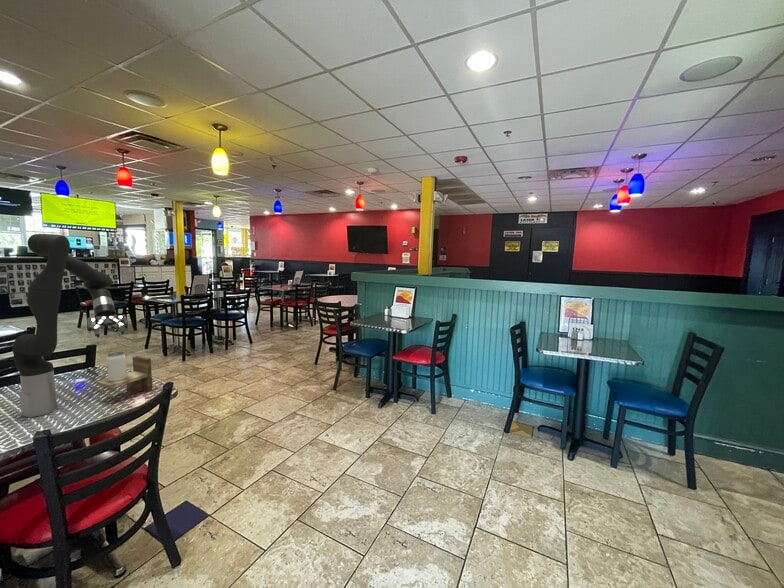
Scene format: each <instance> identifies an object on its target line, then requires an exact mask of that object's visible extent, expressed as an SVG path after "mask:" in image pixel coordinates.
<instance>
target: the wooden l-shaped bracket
mask: <svg viewBox="0 0 784 588" xmlns="http://www.w3.org/2000/svg"><path fill="white" fill-rule="evenodd" d="M152 377H153V373H152V360H151V358H149V357H143V356H138V355H136V356H132V371H129V372H127V377H126V378H125V379H124V380H120V381H114V382H111V381H109V380H108V378H105V379H101V380H98V381H96V386H99V387H102V388H107V389H114V388H117V387H121V386H122V385H123V386H124V385H125V387H126V395H128V396H130V395H132V393H133V394H135V393H138V392H141V391H144V392H148V391H149V392H151V391H153V390H154V389H153V378H152ZM140 390H141V391H140ZM150 390H151V391H150Z"/></svg>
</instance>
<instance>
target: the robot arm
mask: <svg viewBox="0 0 784 588" xmlns="http://www.w3.org/2000/svg"><path fill="white" fill-rule="evenodd" d="M27 247H28V249H29V250H30V251H31V252H33V253H34V254H35V255H37V256H39V257H41V258H44V259H45V260H47V262H46V264H45V267H44V268H43V269H42V270H41V271H40V272H39V273H38V274H37V276H35V278H33V280H32V281H31V282H30V284H29V287H28V291H27V296H26V301H27V306H28V307H29V310H30V311H31V313H32V314H33V317H34V318H35V321H36V329H35V333H25V334H21V335H20V336H18V337H16V339H14V341H13V345H12V354H13V360H14V365H15V368H16V370H17V371H18V372H19V378H20V387H21V389H20V390H21V392H19V395H18V396H19V401H20V402H19V403H20V412H21V416H23V417H25V418H29V419H31V418H34V417H35V418H36V417H41V416H44V415H47V414H50V413H53V412H55V411H56V410H57V409H58V402H57V393H56V381H55V371H54V364H53V363H52V362H50V361H48V360H46V359H45V357H49V356H51V355H53V354H54V352H55V350H56V349H57V347H58V346H57V344H58V319H59V317H58V316H59V307H60V302H61V295H62V287H63V286H62V285H63V278H64V274H65V271H66V270H67V271H68V272H69V273H70V274H73V275H74V276H75V277H77V278H78V279H79V280H81V281H82V282H83V286H84V288H85V289H86V290H87V291H88V292H89V294H90V296H91V300H92V306H93V308H92V309H93V311H94V315H95V316H94V317H95V318H94V317H93V318H91V317H88V318H87V321H86V323H87V331H89V332H91V331H93V333H94V336H95V337H96V338H100V336H101V334H100V331H99V329H101V328H102V327H107V326H115V327H117V328H119V331H120V334H121V335H124V333H126V330H125V328H127V327H129V321H128V319H127V316H126V314H122V315H117V311H116V308H115V304H114V301H113V299H112V294H111V292H110V290H108V289H106V288H109V287H110V286H112V285H113V280H112V278H111V276H109V275H108V274H106V273H104V272H102V271H99V270H96V269H94V268H93V267H91V266H90V265H89V264H88V263H87V262H85V261H83V260H82V259H79V258H76V257H74V256H72V255H70V249H71V244H70V241H69V239H68V237H66V236H65V235H62V234H54V233H35V234H32V235H31V236H29V237H28V239H27ZM121 321H122V322H121ZM94 322H96V324H95V326H93V324H94ZM42 357H43V358H42Z"/></svg>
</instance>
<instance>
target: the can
mask: <svg viewBox="0 0 784 588" xmlns="http://www.w3.org/2000/svg"><path fill="white" fill-rule="evenodd" d="M106 365H107V366H106V368H107V379H108V380H109V381H111V382H114V381H120V380H124V379H125V378H126V377H127V373H128V372H127V359H126V355H125V352H123V351H122V352H121V351H120V352H119V351H118V352H112V353H109V354H107V357H106Z"/></svg>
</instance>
